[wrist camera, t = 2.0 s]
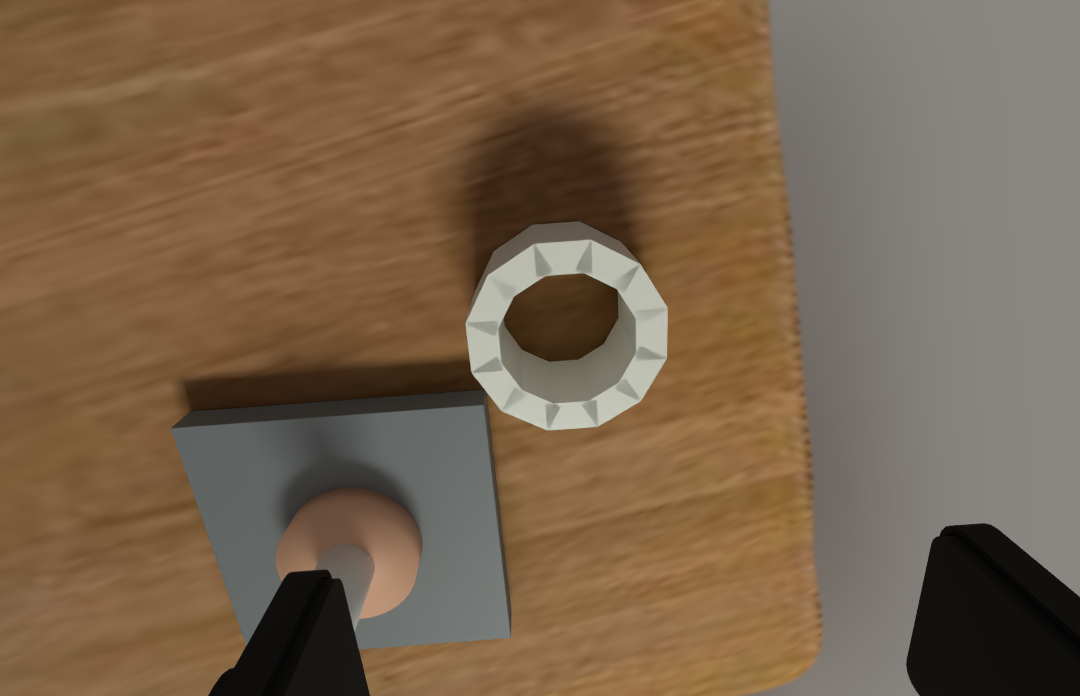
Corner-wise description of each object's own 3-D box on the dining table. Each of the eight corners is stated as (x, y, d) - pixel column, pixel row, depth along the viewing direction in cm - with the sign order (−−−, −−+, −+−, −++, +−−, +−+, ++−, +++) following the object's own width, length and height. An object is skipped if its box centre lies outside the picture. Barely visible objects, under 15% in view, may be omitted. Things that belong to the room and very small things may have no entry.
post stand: (190, 411, 25) (47, 532, 17) (485, 389, 25) (470, 501, 17) (263, 632, 29) (175, 802, 22) (511, 613, 29) (507, 777, 22)
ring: (467, 229, 22) (456, 249, 19) (644, 216, 22) (668, 233, 19) (485, 389, 25) (479, 435, 21) (644, 377, 25) (665, 421, 21)
